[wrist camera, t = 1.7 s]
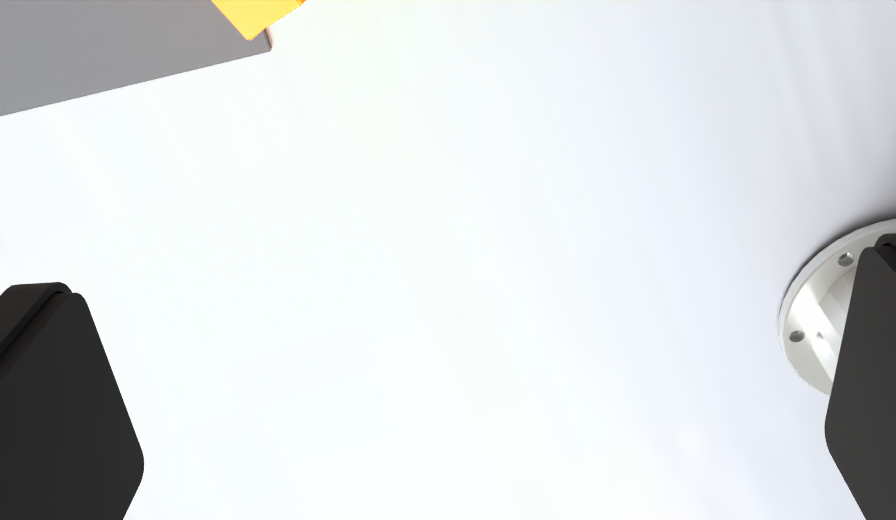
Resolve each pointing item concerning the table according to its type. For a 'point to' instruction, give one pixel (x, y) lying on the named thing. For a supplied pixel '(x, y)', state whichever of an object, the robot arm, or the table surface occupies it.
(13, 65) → the mat
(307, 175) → the table surface
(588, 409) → the table surface
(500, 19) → the table surface
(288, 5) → the orange juice
